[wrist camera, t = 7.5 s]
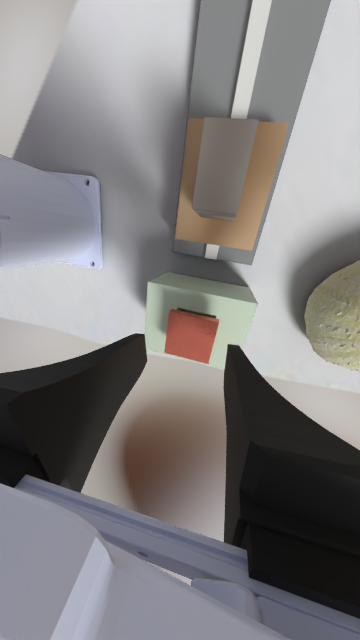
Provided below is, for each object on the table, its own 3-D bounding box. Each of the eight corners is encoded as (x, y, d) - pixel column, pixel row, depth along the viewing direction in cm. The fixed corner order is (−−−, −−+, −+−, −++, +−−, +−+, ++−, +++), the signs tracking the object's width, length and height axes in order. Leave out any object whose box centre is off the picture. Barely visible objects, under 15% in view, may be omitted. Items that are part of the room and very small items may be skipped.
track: (174, 251, 17) (171, 252, 16) (222, -154, 9) (221, -208, 8) (250, 264, 16) (252, 265, 15) (382, -183, 8) (407, -250, 7)
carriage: (177, 238, 15) (157, 237, 11) (191, 127, 12) (171, 61, 8) (250, 250, 14) (261, 253, 10) (284, 132, 11) (322, 60, 7)
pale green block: (161, 325, 20) (143, 348, 16) (167, 271, 18) (147, 281, 13) (232, 341, 19) (234, 372, 15) (249, 287, 17) (258, 303, 12)
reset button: (171, 338, 16) (164, 352, 14) (177, 301, 14) (169, 311, 12) (210, 348, 15) (208, 364, 13) (220, 311, 14) (219, 322, 12)
